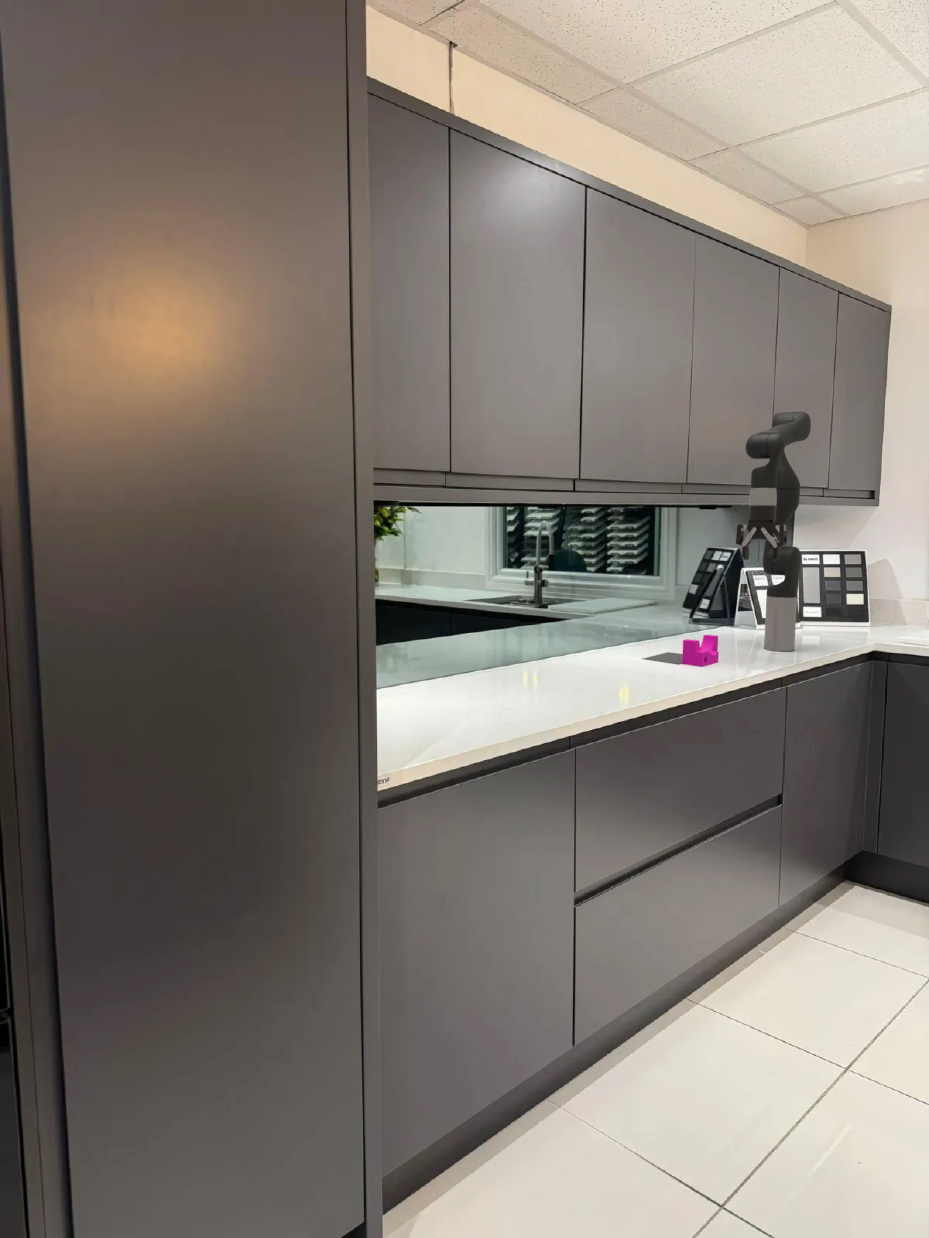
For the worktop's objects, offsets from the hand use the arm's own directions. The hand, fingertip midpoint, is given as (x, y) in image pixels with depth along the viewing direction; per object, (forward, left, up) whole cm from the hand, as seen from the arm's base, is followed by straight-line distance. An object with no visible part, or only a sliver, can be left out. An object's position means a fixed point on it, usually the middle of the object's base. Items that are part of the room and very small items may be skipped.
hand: (760, 560), depth 253 cm
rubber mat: (+13, -20, -30) cm, 38 cm away
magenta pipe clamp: (+12, -11, -31) cm, 34 cm away
